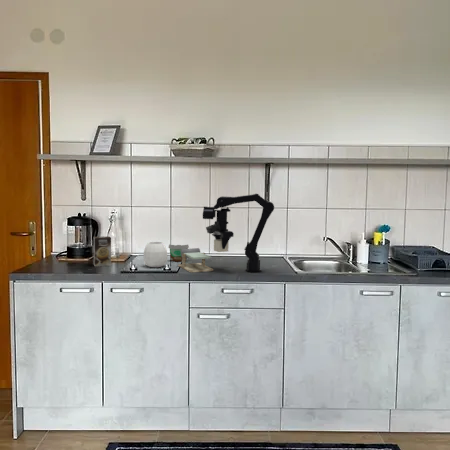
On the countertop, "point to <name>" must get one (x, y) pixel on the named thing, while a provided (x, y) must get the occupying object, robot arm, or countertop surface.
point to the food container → (176, 252)
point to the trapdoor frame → (194, 266)
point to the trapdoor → (194, 253)
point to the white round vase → (155, 254)
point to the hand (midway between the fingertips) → (220, 248)
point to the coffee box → (102, 251)
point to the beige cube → (220, 246)
